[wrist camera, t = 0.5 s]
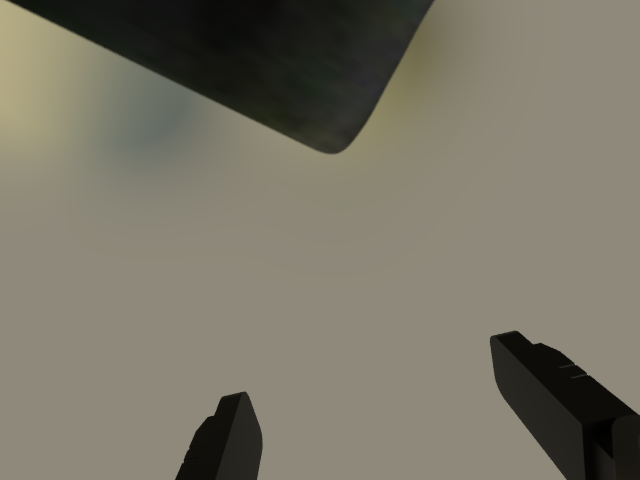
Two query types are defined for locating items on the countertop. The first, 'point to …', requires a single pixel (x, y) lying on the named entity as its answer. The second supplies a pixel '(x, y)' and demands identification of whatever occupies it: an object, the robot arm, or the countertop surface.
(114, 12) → the countertop surface
